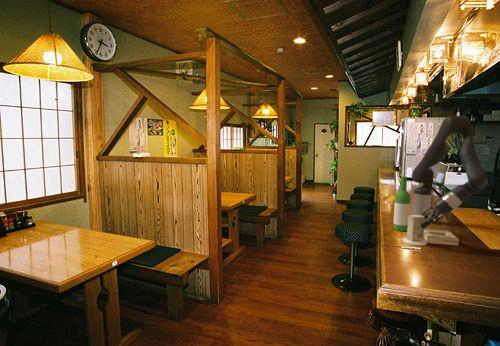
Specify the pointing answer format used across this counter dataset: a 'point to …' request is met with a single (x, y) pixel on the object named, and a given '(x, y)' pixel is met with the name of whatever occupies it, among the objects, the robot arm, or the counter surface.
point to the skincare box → (415, 228)
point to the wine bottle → (402, 207)
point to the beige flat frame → (440, 237)
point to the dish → (414, 242)
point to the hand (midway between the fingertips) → (419, 224)
